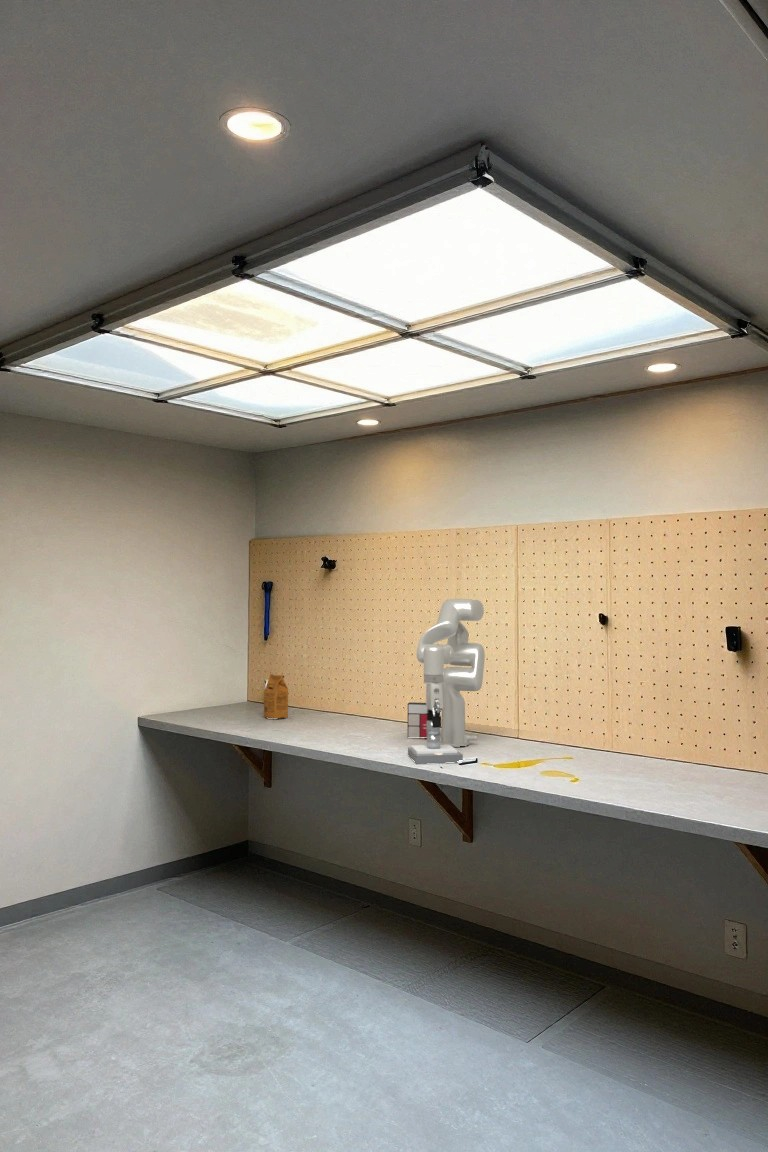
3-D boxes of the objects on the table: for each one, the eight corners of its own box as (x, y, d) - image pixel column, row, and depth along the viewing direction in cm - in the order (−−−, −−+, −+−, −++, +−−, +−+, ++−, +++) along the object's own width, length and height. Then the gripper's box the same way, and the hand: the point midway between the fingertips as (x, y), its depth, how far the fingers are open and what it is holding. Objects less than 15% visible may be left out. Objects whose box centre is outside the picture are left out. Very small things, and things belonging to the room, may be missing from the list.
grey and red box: (407, 738, 350) (407, 703, 351) (408, 737, 355) (408, 702, 355) (432, 739, 348) (432, 704, 349) (434, 738, 353) (434, 702, 353)
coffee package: (277, 716, 421) (277, 672, 421) (290, 718, 411) (290, 674, 412) (260, 717, 414) (260, 673, 415) (273, 720, 405) (273, 675, 405)
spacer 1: (438, 733, 310) (438, 719, 310) (441, 735, 305) (441, 721, 305) (425, 733, 309) (425, 720, 309) (428, 735, 304) (428, 722, 304)
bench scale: (451, 754, 314) (451, 744, 314) (462, 763, 297) (462, 752, 298) (408, 755, 312) (408, 745, 312) (416, 764, 295) (416, 753, 295)
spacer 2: (439, 746, 309) (439, 733, 310) (441, 749, 304) (441, 735, 305) (426, 746, 309) (426, 733, 309) (427, 749, 304) (427, 735, 304)
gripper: (448, 681, 300) (449, 728, 299) (438, 676, 317) (438, 721, 316) (428, 681, 298) (428, 729, 298) (419, 677, 316) (419, 721, 315)
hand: (433, 725), depth 307 cm, fingers open, 9 cm apart
